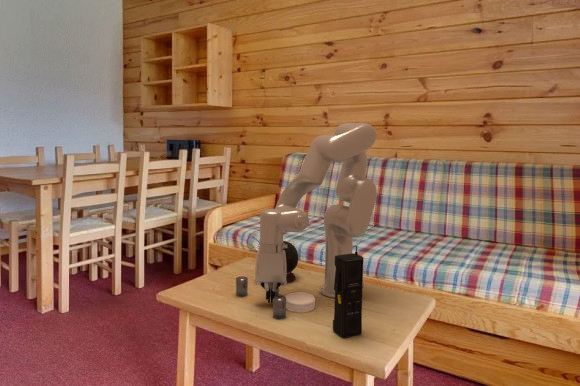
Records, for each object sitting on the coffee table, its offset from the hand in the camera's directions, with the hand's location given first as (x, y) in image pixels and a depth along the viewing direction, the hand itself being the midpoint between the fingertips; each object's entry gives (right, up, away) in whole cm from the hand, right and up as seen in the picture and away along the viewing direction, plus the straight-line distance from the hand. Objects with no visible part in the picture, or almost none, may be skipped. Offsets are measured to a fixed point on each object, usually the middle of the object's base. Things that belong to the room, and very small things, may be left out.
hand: (270, 301), depth 148 cm
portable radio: (+23, -5, -19) cm, 30 cm away
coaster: (+10, -2, 0) cm, 10 cm away
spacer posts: (-4, -1, 0) cm, 4 cm away
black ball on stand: (+3, +2, +26) cm, 26 cm away
